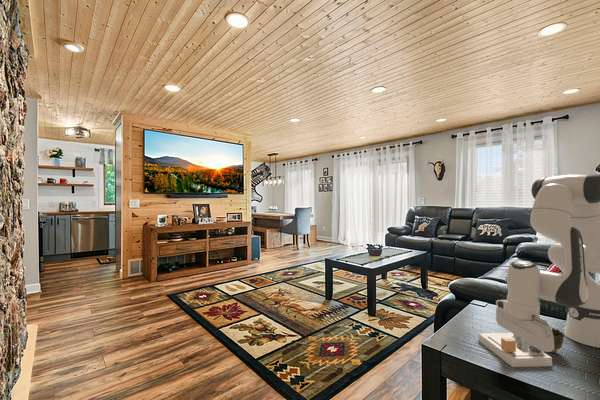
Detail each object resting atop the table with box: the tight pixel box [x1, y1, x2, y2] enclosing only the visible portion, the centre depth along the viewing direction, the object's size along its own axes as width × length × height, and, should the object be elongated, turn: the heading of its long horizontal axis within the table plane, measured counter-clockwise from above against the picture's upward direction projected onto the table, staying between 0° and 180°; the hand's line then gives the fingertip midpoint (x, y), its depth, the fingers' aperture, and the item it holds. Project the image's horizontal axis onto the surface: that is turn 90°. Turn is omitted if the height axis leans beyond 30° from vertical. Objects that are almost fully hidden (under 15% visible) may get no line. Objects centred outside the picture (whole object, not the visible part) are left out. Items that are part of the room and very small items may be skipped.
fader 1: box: [501, 338, 516, 352], centre depth 102 cm, size 4×2×4 cm, turn 91°
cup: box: [549, 327, 565, 354], centre depth 107 cm, size 8×7×8 cm
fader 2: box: [529, 345, 540, 352], centre depth 103 cm, size 4×2×4 cm, turn 92°
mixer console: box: [478, 332, 553, 368], centre depth 107 cm, size 14×18×3 cm
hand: (522, 350), depth 96 cm, fingers closed
